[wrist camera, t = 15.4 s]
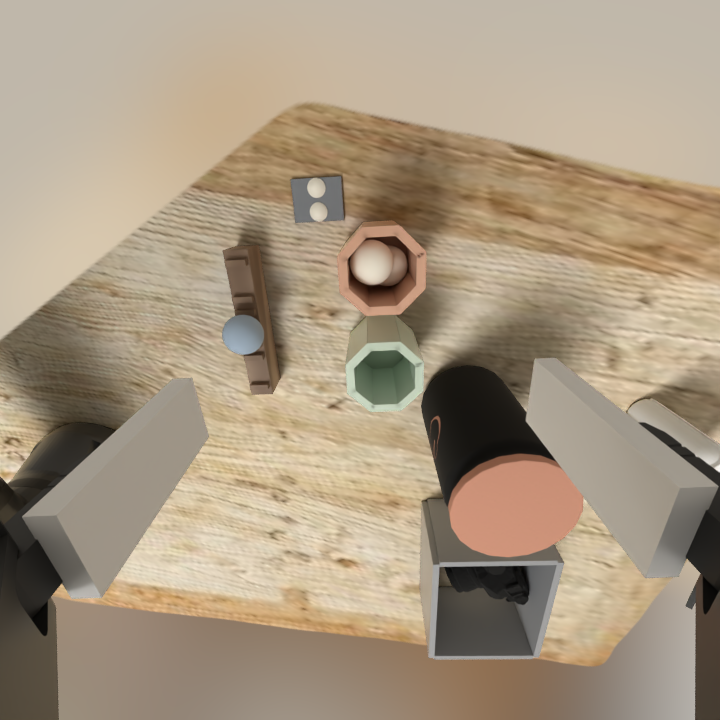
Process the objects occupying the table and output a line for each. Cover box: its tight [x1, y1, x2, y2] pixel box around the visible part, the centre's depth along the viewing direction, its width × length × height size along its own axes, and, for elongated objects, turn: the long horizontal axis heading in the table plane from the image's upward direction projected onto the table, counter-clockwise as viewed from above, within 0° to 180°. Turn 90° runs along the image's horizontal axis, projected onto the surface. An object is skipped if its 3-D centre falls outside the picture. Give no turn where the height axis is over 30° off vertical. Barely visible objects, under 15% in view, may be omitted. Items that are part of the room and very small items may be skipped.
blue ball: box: [222, 315, 264, 355], centre depth 36 cm, size 4×4×4 cm
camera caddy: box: [420, 499, 564, 659], centre depth 51 cm, size 16×21×10 cm
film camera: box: [444, 566, 529, 605], centre depth 51 cm, size 15×10×9 cm, turn 32°
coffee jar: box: [421, 365, 583, 557], centre depth 37 cm, size 11×11×18 cm
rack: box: [223, 245, 280, 395], centre depth 39 cm, size 2×16×5 cm, turn 3°
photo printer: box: [627, 398, 720, 472], centre depth 40 cm, size 10×4×12 cm, turn 45°
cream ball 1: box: [350, 240, 394, 285], centre depth 32 cm, size 4×4×4 cm
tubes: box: [290, 176, 426, 412], centre depth 35 cm, size 12×22×9 cm, turn 3°
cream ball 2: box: [379, 245, 408, 286], centre depth 36 cm, size 4×4×4 cm
